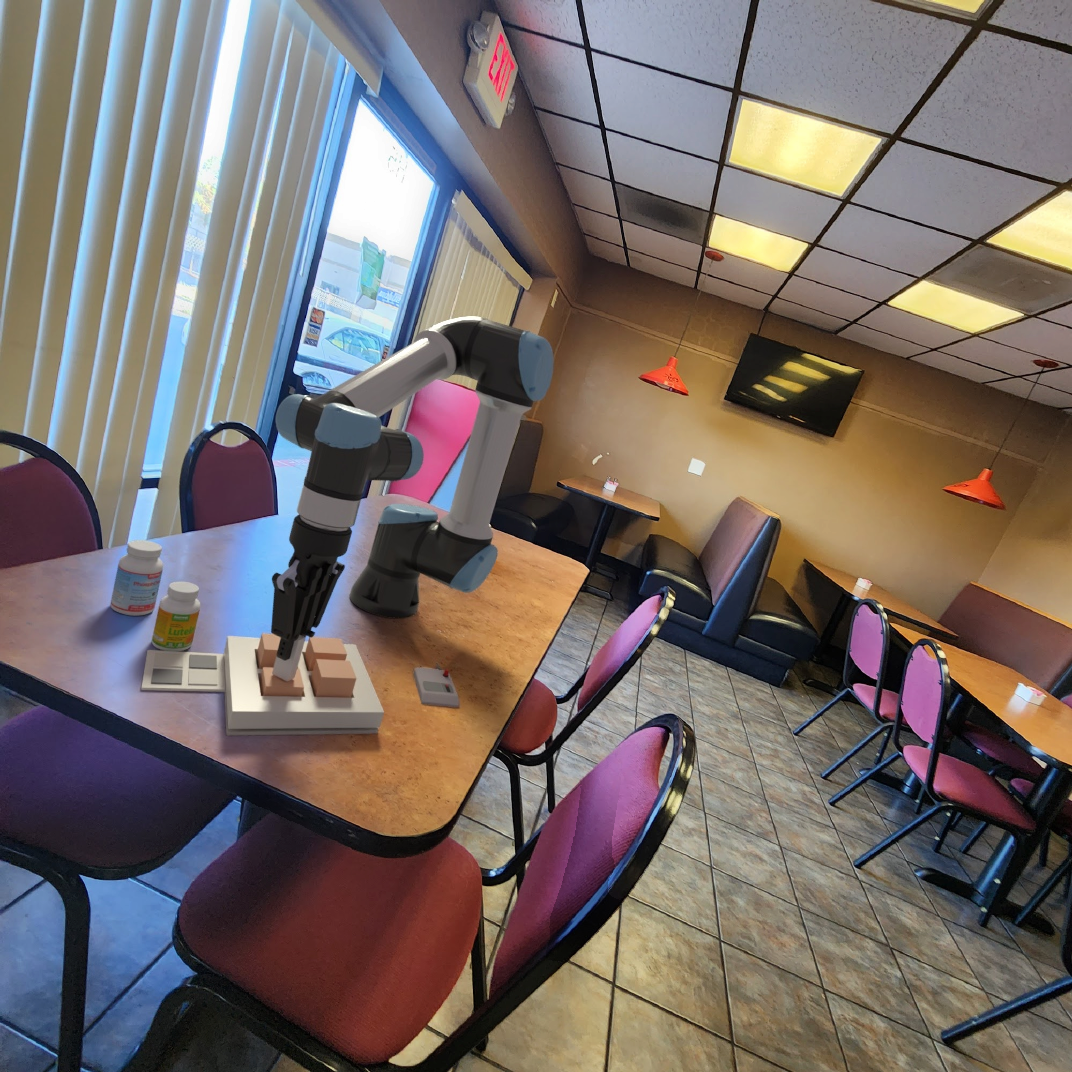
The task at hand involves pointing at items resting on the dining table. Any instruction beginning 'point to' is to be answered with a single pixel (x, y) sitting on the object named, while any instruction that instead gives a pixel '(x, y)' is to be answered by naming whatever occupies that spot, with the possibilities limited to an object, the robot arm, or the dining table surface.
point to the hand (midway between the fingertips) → (283, 675)
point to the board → (294, 698)
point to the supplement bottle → (177, 617)
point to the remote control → (435, 687)
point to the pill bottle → (138, 579)
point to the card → (183, 671)
